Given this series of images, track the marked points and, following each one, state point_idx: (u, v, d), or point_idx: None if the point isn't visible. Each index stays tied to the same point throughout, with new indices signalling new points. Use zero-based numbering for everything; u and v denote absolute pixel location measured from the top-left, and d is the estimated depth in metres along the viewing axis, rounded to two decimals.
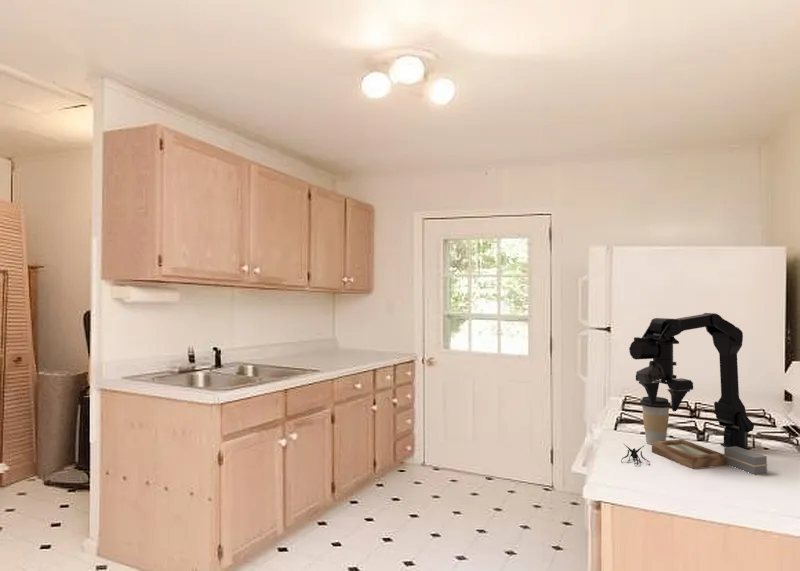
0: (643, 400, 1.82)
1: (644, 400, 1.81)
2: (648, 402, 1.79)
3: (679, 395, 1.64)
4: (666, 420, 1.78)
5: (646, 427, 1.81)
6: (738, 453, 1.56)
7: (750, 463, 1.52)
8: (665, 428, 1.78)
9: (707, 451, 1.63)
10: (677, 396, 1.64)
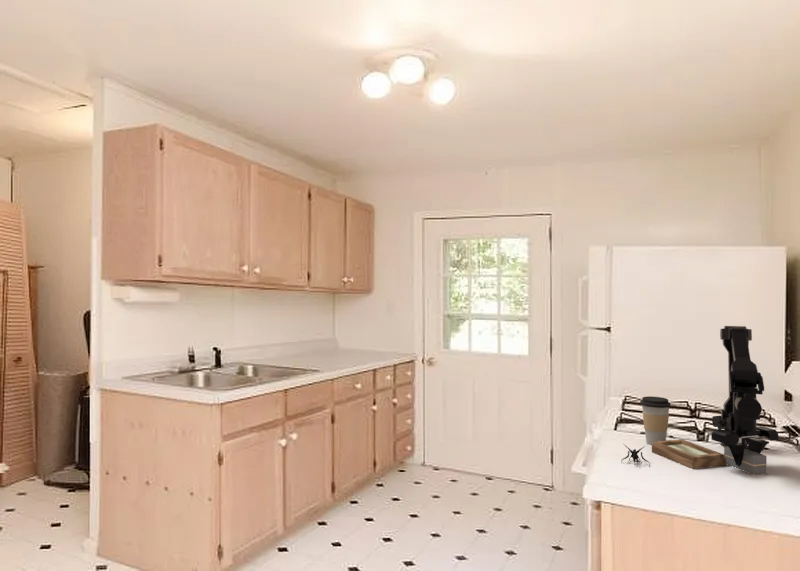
0: (643, 400, 1.82)
1: (644, 400, 1.81)
2: (648, 402, 1.79)
3: (736, 449, 1.55)
4: (666, 420, 1.78)
5: (646, 427, 1.81)
6: None
7: (750, 462, 1.52)
8: (665, 428, 1.78)
9: (707, 451, 1.63)
10: (735, 449, 1.55)
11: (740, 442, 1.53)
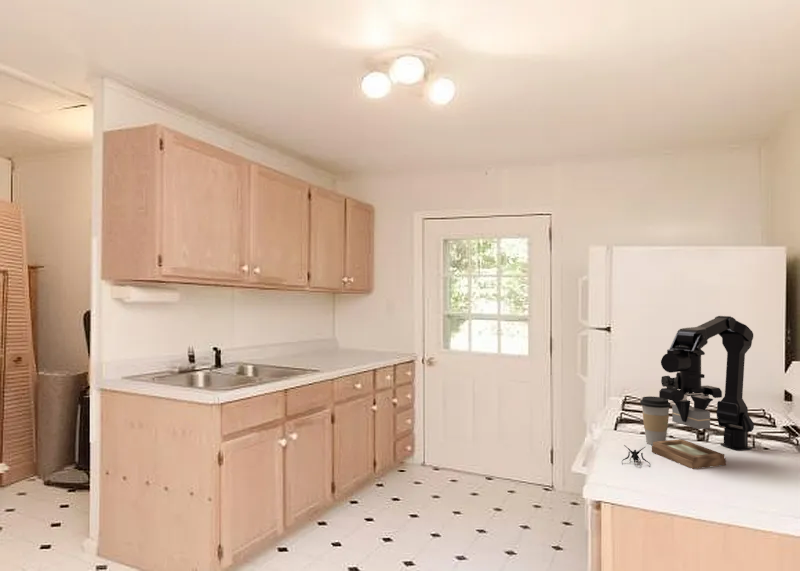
0: (643, 400, 1.82)
1: (644, 400, 1.81)
2: (648, 402, 1.79)
3: (682, 406, 1.63)
4: (666, 420, 1.78)
5: (646, 427, 1.81)
6: None
7: (694, 418, 1.61)
8: (665, 428, 1.78)
9: (707, 451, 1.63)
10: (681, 406, 1.64)
11: (685, 399, 1.62)
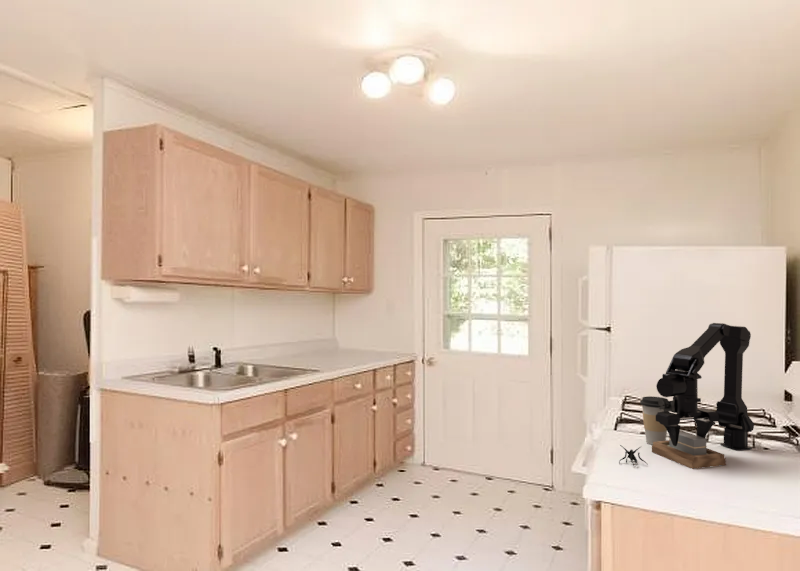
0: (643, 400, 1.82)
1: (644, 400, 1.81)
2: (648, 402, 1.79)
3: (673, 430, 1.63)
4: None
5: (646, 427, 1.81)
6: (681, 436, 1.65)
7: (690, 445, 1.61)
8: (665, 428, 1.78)
9: (707, 451, 1.63)
10: (671, 430, 1.64)
11: None
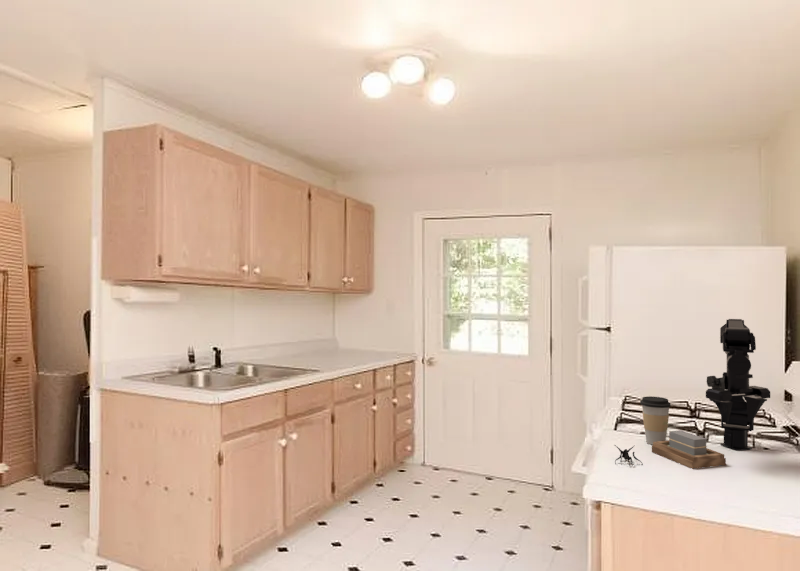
0: (643, 400, 1.82)
1: (644, 400, 1.81)
2: (648, 402, 1.79)
3: (724, 407, 1.60)
4: (666, 420, 1.78)
5: (646, 427, 1.81)
6: (681, 436, 1.65)
7: (690, 445, 1.61)
8: (665, 428, 1.78)
9: (707, 451, 1.63)
10: (722, 407, 1.60)
11: None
